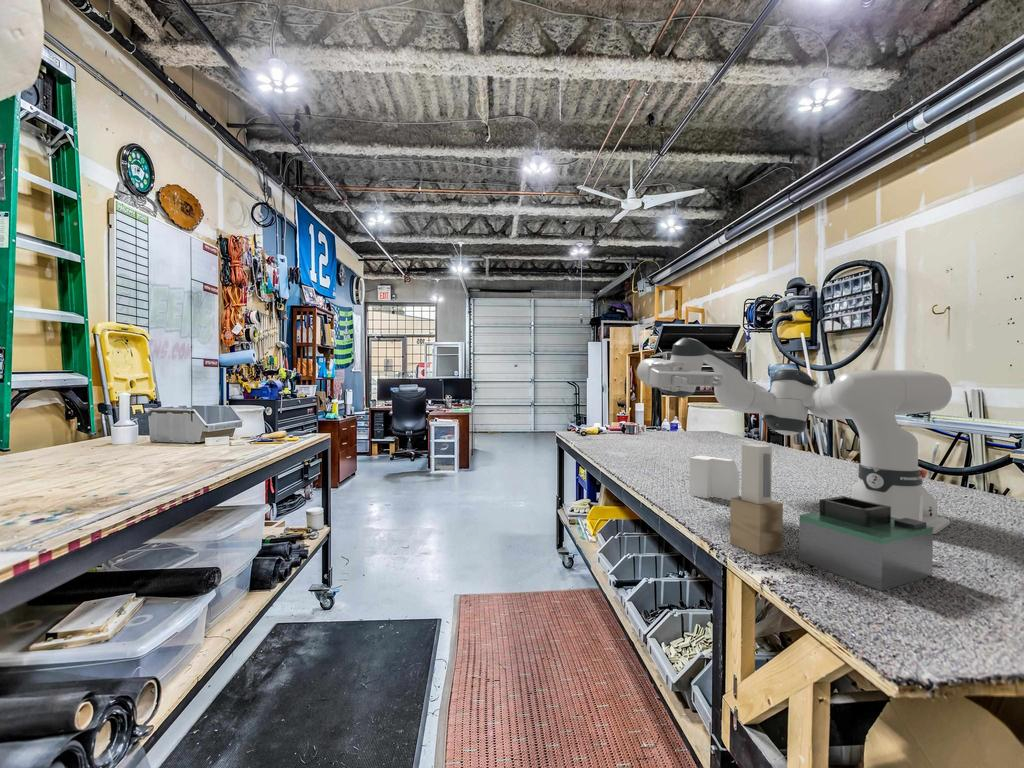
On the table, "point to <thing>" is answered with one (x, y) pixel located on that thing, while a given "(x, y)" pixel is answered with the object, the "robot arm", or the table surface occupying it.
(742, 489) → the keyed plug
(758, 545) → the parts stand
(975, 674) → the table surface
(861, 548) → the green-topped socket block
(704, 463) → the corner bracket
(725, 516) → the table surface
